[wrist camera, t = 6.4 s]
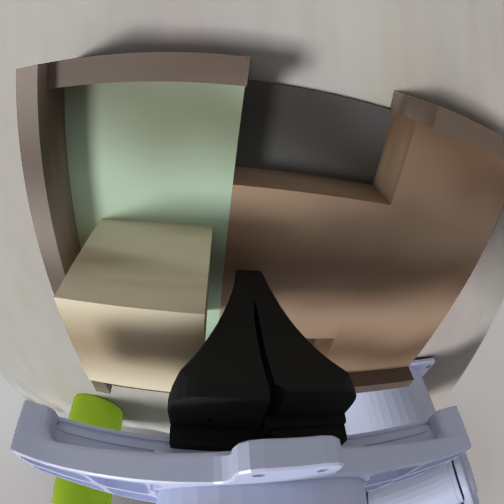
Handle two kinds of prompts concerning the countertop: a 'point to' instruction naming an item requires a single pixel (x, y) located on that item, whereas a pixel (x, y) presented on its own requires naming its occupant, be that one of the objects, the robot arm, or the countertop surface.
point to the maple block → (138, 301)
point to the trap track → (269, 191)
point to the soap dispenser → (98, 414)
